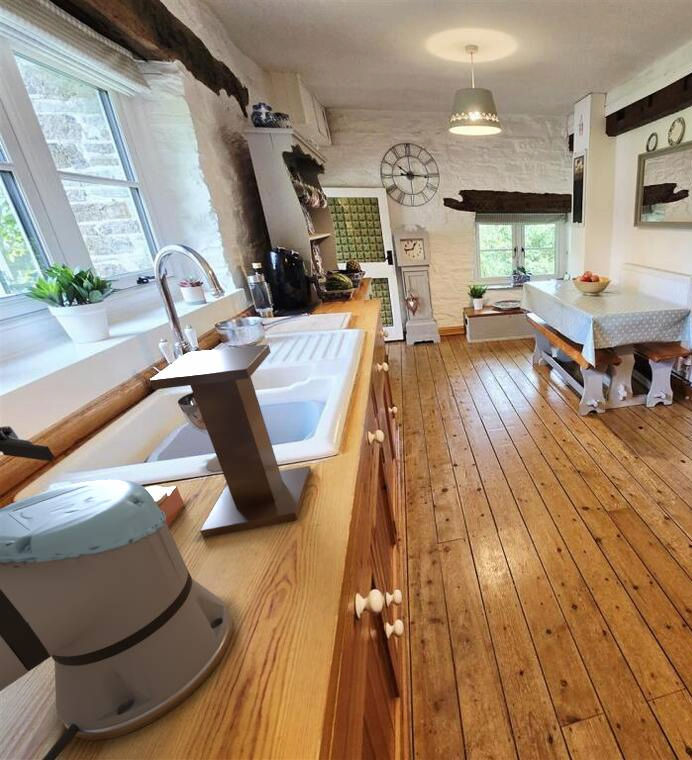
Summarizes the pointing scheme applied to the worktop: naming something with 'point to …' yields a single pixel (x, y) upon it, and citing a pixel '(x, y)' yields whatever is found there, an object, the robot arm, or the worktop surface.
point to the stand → (238, 439)
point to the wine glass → (196, 422)
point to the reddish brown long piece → (167, 501)
